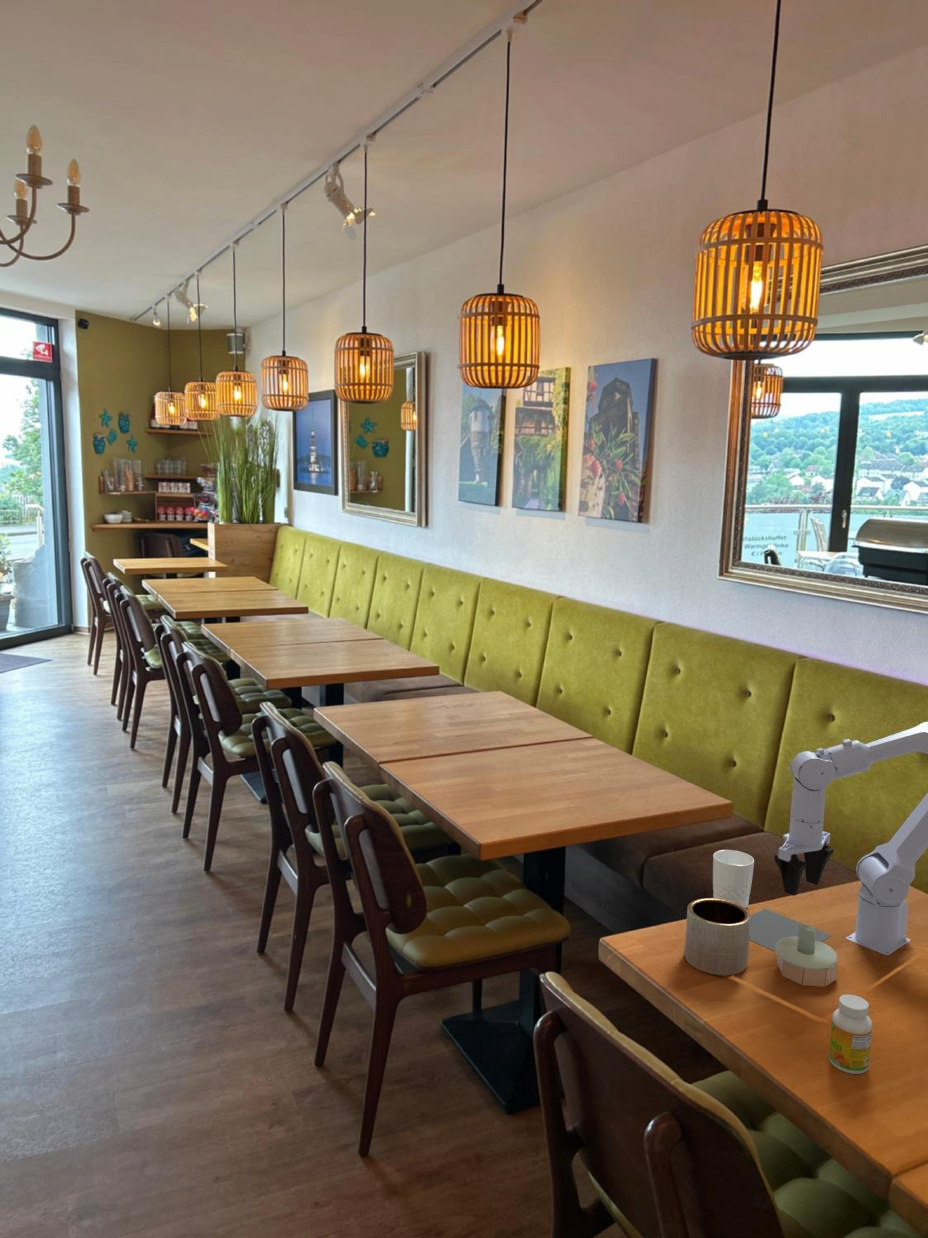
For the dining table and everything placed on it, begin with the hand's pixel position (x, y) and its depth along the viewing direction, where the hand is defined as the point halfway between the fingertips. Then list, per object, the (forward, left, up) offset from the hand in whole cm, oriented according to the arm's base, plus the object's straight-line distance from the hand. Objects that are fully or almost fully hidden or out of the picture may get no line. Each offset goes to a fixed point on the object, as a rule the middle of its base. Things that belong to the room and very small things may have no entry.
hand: (801, 888), depth 168 cm
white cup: (-2, -16, -10) cm, 19 cm away
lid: (+11, +8, -6) cm, 15 cm away
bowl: (+11, +8, -10) cm, 17 cm away
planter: (+20, -4, -10) cm, 23 cm away
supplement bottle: (+29, +25, -10) cm, 40 cm away
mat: (+2, -3, -10) cm, 11 cm away
